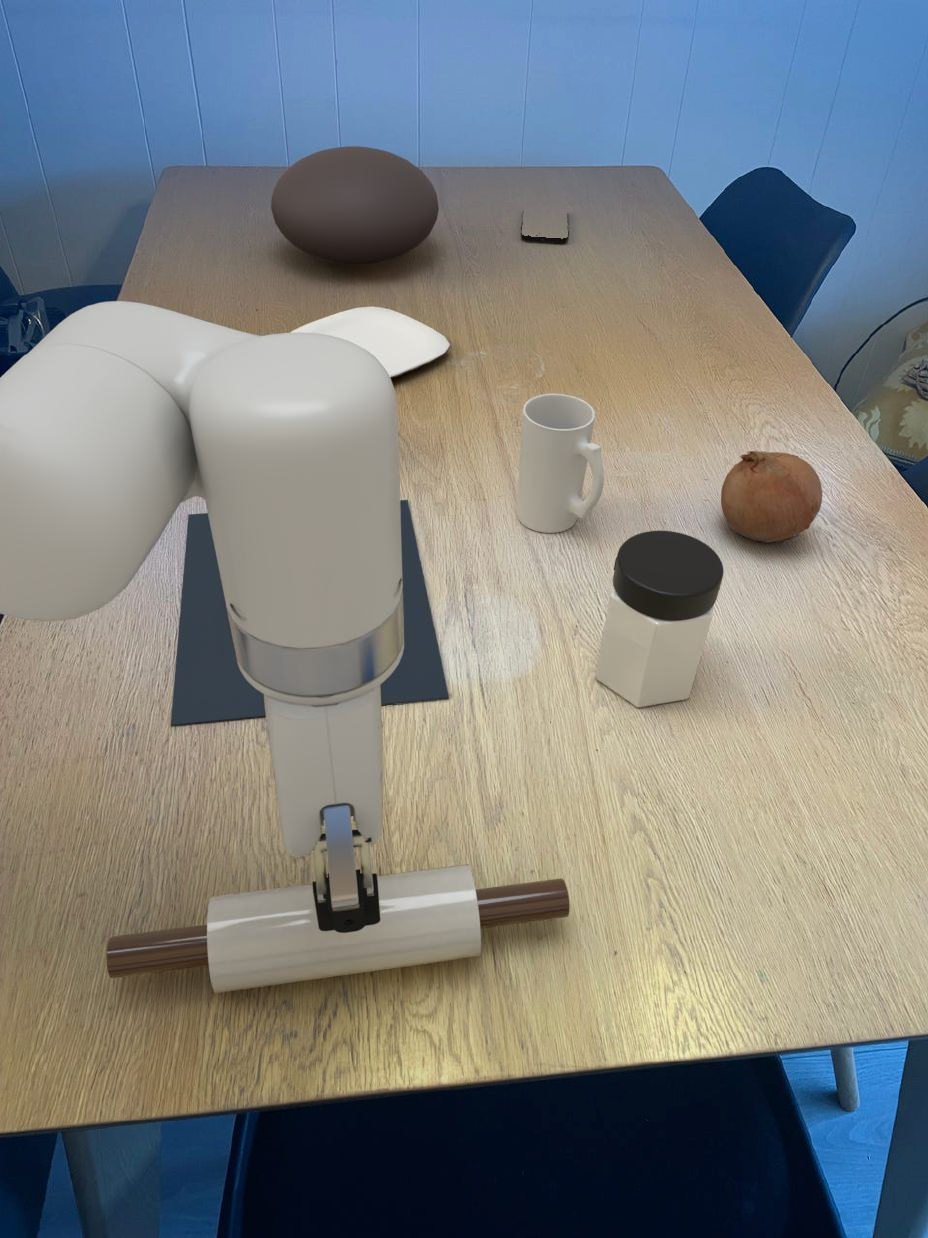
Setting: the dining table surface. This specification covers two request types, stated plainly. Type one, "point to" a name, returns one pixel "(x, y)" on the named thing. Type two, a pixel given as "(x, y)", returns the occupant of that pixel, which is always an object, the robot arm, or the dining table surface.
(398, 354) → the plate
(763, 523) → the onion
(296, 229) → the smooth stone
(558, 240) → the smartphone
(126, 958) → the rolling pin
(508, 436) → the dining table surface
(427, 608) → the baking mat
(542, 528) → the mug
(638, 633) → the jar
